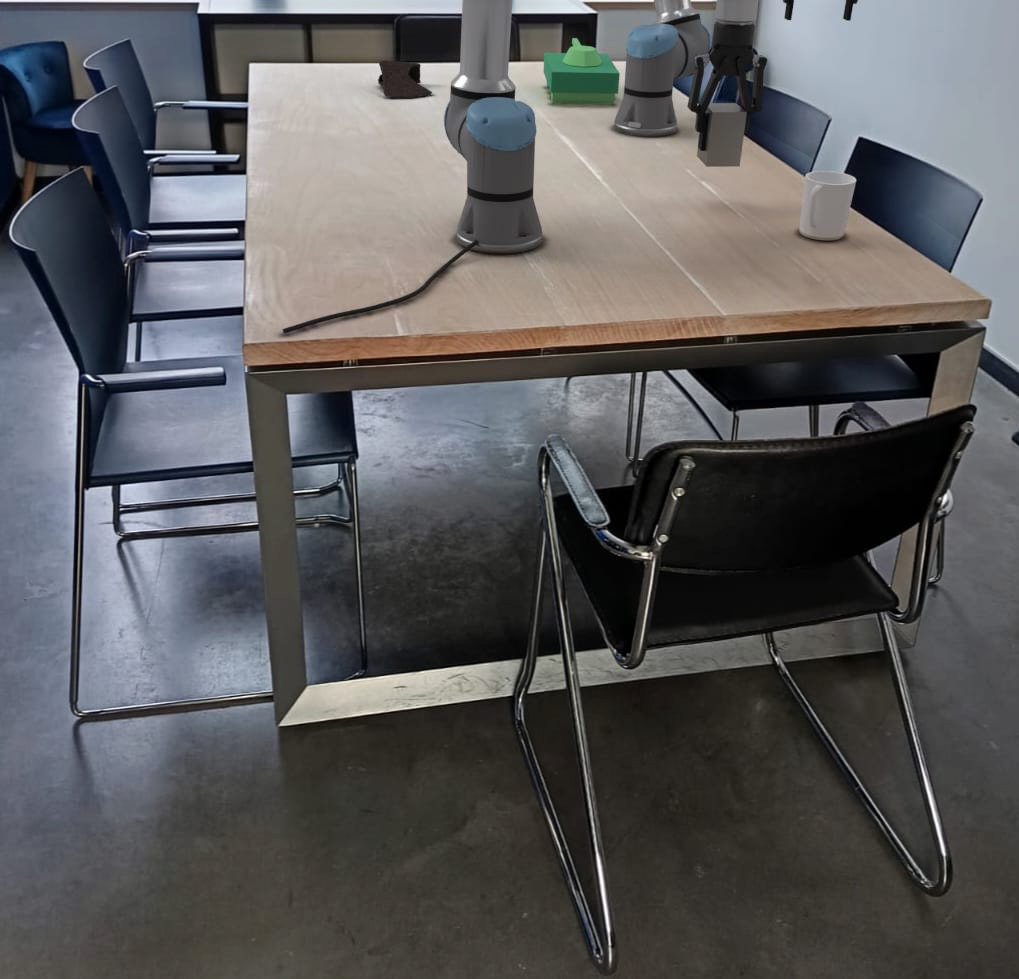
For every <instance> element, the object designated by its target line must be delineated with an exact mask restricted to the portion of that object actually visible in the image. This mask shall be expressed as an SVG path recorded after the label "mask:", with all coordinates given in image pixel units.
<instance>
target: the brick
mask: <svg viewBox="0 0 1019 979" xmlns="http://www.w3.org/2000/svg"><path fill="white" fill-rule="evenodd" d="M706 114H707V115H708V116H709V119H708V128H707V136H706V145H705V151H701V150H700V149H699V148H698V147H697V152H696V157H697V158H698V159H699V160H700V161H701V162H702V164H703V165H704V166H705V167H707V168H711V167H716V168H717V167H720V168H723V167H725V168H726V167H732V168H734V167H736V168H737V167H741V158H742V151H743V145H742V144H744V137H745V136H744V135H745V132H744V129H745V122H746V114H747V112H746V111H745V110H743V109H742V106H740V105H739V104H737V102H710V104H709V106H708V108H707V111H706Z"/></svg>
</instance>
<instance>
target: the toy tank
mask: <svg viewBox="0 0 1019 979" xmlns="http://www.w3.org/2000/svg"><path fill="white" fill-rule="evenodd" d="M571 45H572V46H570V47H569V48H568V50H567V52H544V53H543V75H544V77H545V80H546V88H549V92H550V100H551V104H561V105H563V104H565V105H567V104H568V105H570V104H571V105H573V104H574V105H614V104H615V97H616V95H618V94H619V88H620V71H619V70H618V68H617V67H616V66H615V64H614V62H613V61H612V60H611V58H610V56H609V55H608V53H599V51H598V49H597V48H596V47H593V46H589V45H582V44H581V42H580V41H579V39H578V37H572V38H571Z"/></svg>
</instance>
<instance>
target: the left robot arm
mask: <svg viewBox="0 0 1019 979" xmlns="http://www.w3.org/2000/svg"><path fill="white" fill-rule="evenodd" d="M715 4H716V5H715V12H714V18H715V20H717V21H715V23H713V28H712V29H713V30H712V37H713V38H712V46H711V49H710V51H709V52H708V54H705V55H701V56H699V55H695V56H694V65H695V70H694V75H692V80H691V86H690V91H689V95H688V101H687V109H688V110H689V111H690V112H692V113H695V115H696V116H695V124H694V129H695V132H697V133H698V140H697V149H698V148H699V149H700V150H701V151H705V145H706V136H707V128H708V119H709V116H708V115H707V114H706V111H707V108H708V106H709V104H710V103H711V102H712V99H713V97H714V95H715V93H716V90H717V87H718V86H719V83H720V81H721V80H722V79H723V77H727V76H733V77H735V79H736V84H737V88H738V94H739V98H740V104H741V108H742V109H743V110H745V111H746V112H747V114H746V122H745V129H744V133H749V131H750V127H751V119H752V117H753V115H754V114H755V113H760V112H762V110H763V94H764V77H765V76H764V75H765V68H766V66H767V63H768V58H767V57H765V56H764V55H762V54H759V55H758V54H755V53H754V50H753V47H754V46H753V45H754V38H755V33H756V32H755V31H756V25H755V23H754V22H756V20H757V17H758V7H759V0H716V3H715ZM461 11H462V12H461V28H460V29H461V31H460V37H461V38H460V56H459V57H460V58H459V59H460V60H459V73H458V74H457V75H456V76H455V77H454V78H453V79H452V80H451V81H450V93H449V94H450V96H449V101H448V103H447V105H446V107H445V110H444V113H443V127H444V131H445V135H446V137H447V140H448V141H449V144H450V145H451V146H452V148H453V149H454V150H455V151H456V152H457V153H458V154H459V155H460V156H462V158H463V159H464V160H465V161H466V192H467V193H466V198H465V202H464V205H463V209H462V211H461V214H460V218H459V220H458V224H457V228H456V241H457V243H458V244H459V245H461V246H462V247H464V248H463V249H462V250H460V251H459V252H458V253H456V254H455V255H454V256H452V257H451V258H450V259H449V260H448V261H447V262H446V263H444V264H443V265H442V266H441V267H440V268H439V269H438V270H437V271H435V272H434V273H433V274H432V275H431V276H430V277H429V278H428V279H427V280H426V281H425V282H424V283H423V285H421V286H420V287H419V288H418V289H416V290H413V291H412V292H411V293H408V294H406V295H403V296H401V297H398V298H395V299H391V300H388V301H384V302H381V303H378V304H374V305H370V306H366V307H361V308H356V309H349V310H345V311H341V312H336V313H332V314H328V315H324V316H320V317H317V318H314V319H310V320H307V321H304V322H300V323H297V324H294V325H291V326H287V327H285V328H282V333H283V334H288V333H291V332H295V331H299V330H302V329H305V328H307V327H310V326H314V325H317V324H321V323H324V322H328V321H331V320H335V319H339V318H345V317H350V316H356V315H359V314H363V313H369V312H372V311H377V310H379V309H383V308H386V307H390V306H394V305H397V304H400V303H402V302H407V301H408V300H410V299H412V298H414V297H416V296H418V295H419V294H421V293H423V292H424V291H425V290H426V289H427V288H428V287H429V286H431V284H432V282H433V281H435V280H436V279H437V278H438V277H439V276H440V275H441V274H442V273H443V272H444V271H445V270H447V269H448V268H449V267H450V266H451V265H452V264H454V263H455V262H456V261H458V260H459V259H460V258H461V257H462V256H464V255H465V254H467V253H468V252H469V251H475V252H479V253H486V254H497V255H499V254H500V255H506V254H507V255H508V254H517V253H524V252H527V251H530V250H533V249H536V248H538V247H539V246H540V245H541V244H542V243H543V229H542V224H541V221H540V220H541V219H540V218H539V214H538V213H539V212H538V210H537V206H536V204H535V199H534V183H535V181H534V180H535V157H536V156H535V154H536V136H537V124H536V115H535V112H534V110H533V109H532V107H531V106H530V105H528V104H527V103H525V102H523V101H520V100H516V84H515V83H514V82H513V81H512V79H510V76H509V63H510V48H511V47H510V46H511V30H512V17H513V16H512V15H513V14H512V13H513V0H462V4H461ZM709 60H710V61H709ZM708 61H709V63H711V65H712V67H713V68H712V70H711V72H710V76H709V78H708V81H707V84H706V86H705V88H704V91H703V92H702V95H701V97H700V94H701V88H702V84H703V79H704V74H705V68H706V67H707V66H708V64H707V62H708ZM751 62H752V66H753V76H752V77H753V79H752V80H753V81H752V102H751V97H750V92H749V87H748V82H747V74H746V68H747V67H748V66H749V65H750V64H751ZM704 67H705V68H704ZM699 98H700V99H699ZM743 144H744V143H743ZM743 144H742V146H743Z"/></svg>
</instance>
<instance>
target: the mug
mask: <svg viewBox="0 0 1019 979" xmlns="http://www.w3.org/2000/svg"><path fill="white" fill-rule="evenodd" d="M856 183H857V178H856V177H855V176H853V175H851V174H848V173H844V172H840V171H832V170H816V171H809V172H807V173H806V174H805V177H804V184H803V194H802V203H801V212H800V219H799V228H798V232H799V234H800V235H802V236H803V237H805V238H809V239H812V240H817V241H836V240H840V239H842V238H843V237H844V236H845V230H846V227H847V221H848V217H849V215H850V214H849V213H850V209H851V205H852V201H853V196H854V193H855V189H856Z"/></svg>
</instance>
